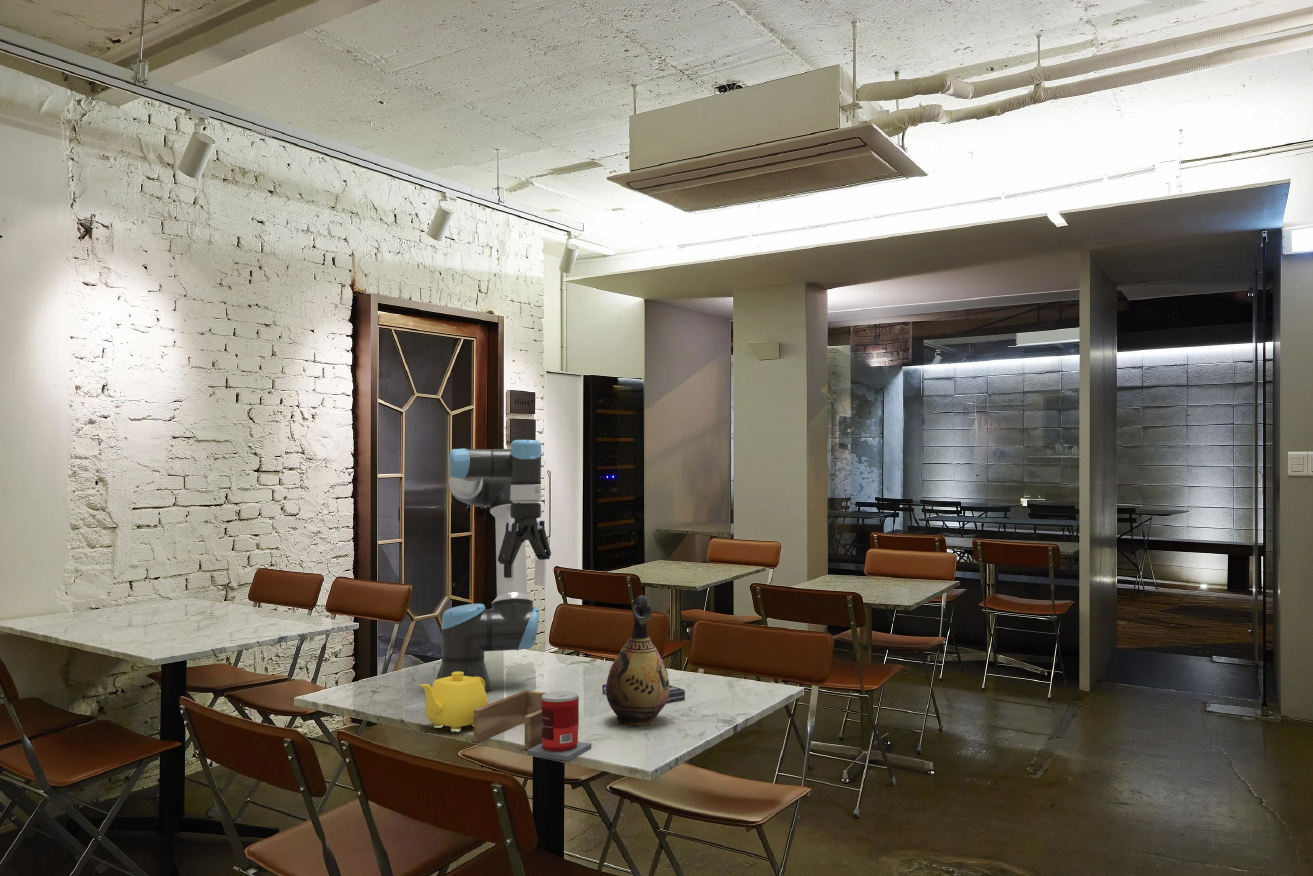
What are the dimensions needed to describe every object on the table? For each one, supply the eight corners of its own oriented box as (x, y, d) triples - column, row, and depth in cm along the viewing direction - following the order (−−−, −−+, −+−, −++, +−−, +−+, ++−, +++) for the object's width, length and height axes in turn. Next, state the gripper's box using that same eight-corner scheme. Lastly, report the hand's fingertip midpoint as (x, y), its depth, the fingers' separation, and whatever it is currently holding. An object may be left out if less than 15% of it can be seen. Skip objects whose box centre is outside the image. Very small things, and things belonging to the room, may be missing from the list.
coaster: (527, 755, 195) (527, 750, 195) (552, 742, 204) (552, 738, 204) (568, 761, 191) (568, 756, 191) (591, 748, 200) (591, 743, 200)
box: (602, 697, 251) (642, 710, 235) (601, 684, 251) (642, 696, 235) (643, 689, 259) (685, 701, 243) (643, 676, 259) (685, 688, 244)
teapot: (503, 723, 221) (504, 669, 221) (438, 742, 205) (439, 684, 205) (465, 714, 229) (465, 663, 229) (399, 732, 213) (400, 676, 213)
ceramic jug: (672, 729, 215) (672, 600, 217) (606, 730, 214) (607, 601, 215) (666, 711, 232) (665, 592, 233) (605, 712, 231) (605, 592, 232)
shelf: (473, 741, 205) (473, 709, 206) (525, 719, 224) (525, 690, 225) (530, 749, 199) (530, 717, 199) (578, 726, 218) (578, 696, 218)
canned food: (583, 743, 200) (583, 692, 201) (568, 753, 193) (567, 700, 193) (552, 740, 203) (552, 689, 203) (535, 750, 195) (535, 697, 196)
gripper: (510, 503, 214) (509, 594, 213) (564, 501, 237) (564, 583, 236) (483, 503, 218) (482, 593, 217) (539, 500, 240) (539, 582, 239)
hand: (525, 588), depth 226 cm, fingers open, 13 cm apart
